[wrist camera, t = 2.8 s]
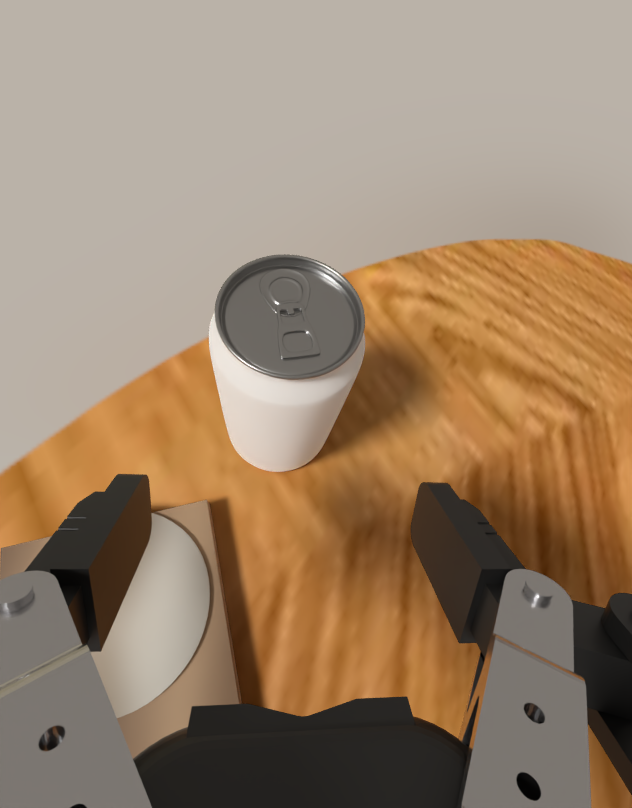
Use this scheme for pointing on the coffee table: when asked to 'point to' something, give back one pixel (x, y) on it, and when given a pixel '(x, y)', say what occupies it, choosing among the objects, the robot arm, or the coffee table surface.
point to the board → (163, 629)
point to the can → (285, 357)
